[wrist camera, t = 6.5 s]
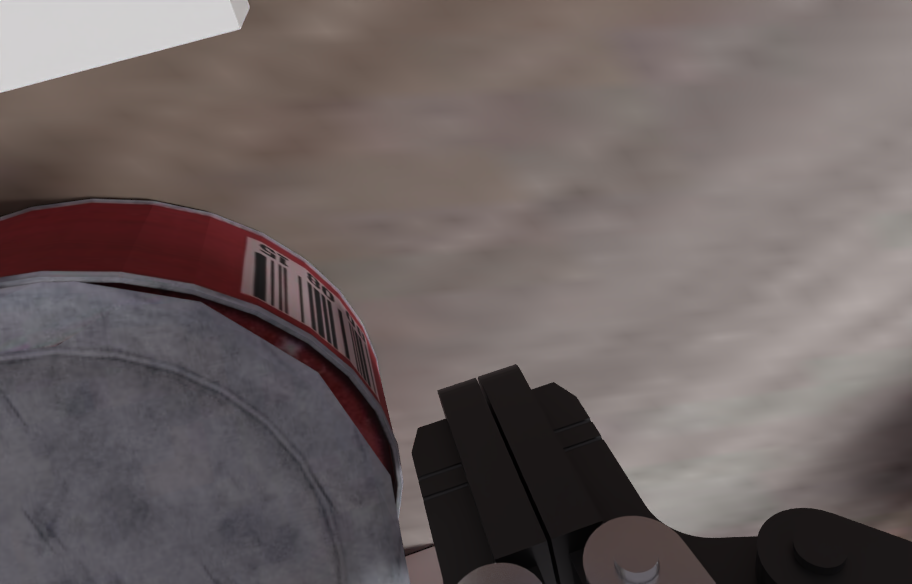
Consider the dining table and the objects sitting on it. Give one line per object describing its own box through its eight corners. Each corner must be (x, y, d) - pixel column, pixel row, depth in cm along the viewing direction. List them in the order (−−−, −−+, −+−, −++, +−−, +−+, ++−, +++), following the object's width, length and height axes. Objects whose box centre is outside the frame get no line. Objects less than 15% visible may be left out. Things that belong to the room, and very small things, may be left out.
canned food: (-5, 381, 17) (-749, 716, 7) (189, 87, 14) (-696, 20, 4) (306, 658, 17) (-25, 1302, 8) (565, 437, 14) (529, 1084, 5)
